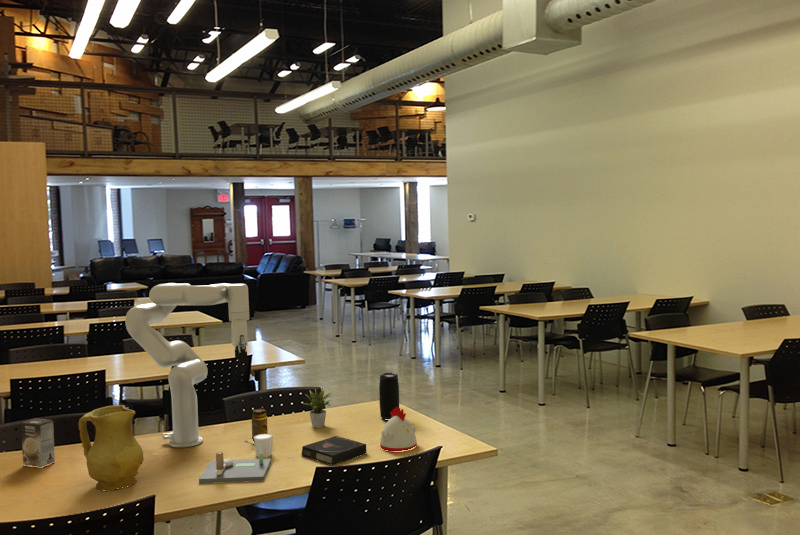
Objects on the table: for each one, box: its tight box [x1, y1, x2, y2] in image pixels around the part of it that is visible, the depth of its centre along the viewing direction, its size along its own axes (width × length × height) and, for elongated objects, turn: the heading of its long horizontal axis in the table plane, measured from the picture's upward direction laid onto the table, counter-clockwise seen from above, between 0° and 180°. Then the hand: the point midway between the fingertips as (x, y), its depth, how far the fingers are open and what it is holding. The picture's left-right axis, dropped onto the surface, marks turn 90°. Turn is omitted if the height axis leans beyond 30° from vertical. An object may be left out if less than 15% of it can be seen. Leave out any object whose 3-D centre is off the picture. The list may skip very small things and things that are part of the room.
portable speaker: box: [378, 372, 400, 420], centre depth 293 cm, size 9×9×20 cm
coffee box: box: [20, 417, 56, 467], centre depth 242 cm, size 9×6×16 cm
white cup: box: [254, 433, 274, 458], centre depth 248 cm, size 7×7×7 cm
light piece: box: [215, 451, 234, 475], centre depth 229 cm, size 13×6×6 cm, turn 3°
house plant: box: [302, 388, 336, 429], centre depth 283 cm, size 14×14×16 cm
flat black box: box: [301, 435, 367, 466], centre depth 247 cm, size 16×17×4 cm
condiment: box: [251, 408, 269, 441], centre depth 266 cm, size 7×8×12 cm
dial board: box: [198, 452, 272, 484], centre depth 230 cm, size 21×18×6 cm
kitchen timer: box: [379, 407, 418, 451], centre depth 255 cm, size 14×14×15 cm
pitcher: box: [78, 404, 144, 491], centre depth 222 cm, size 17×19×25 cm
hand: (241, 360), depth 257 cm, fingers open, 9 cm apart
